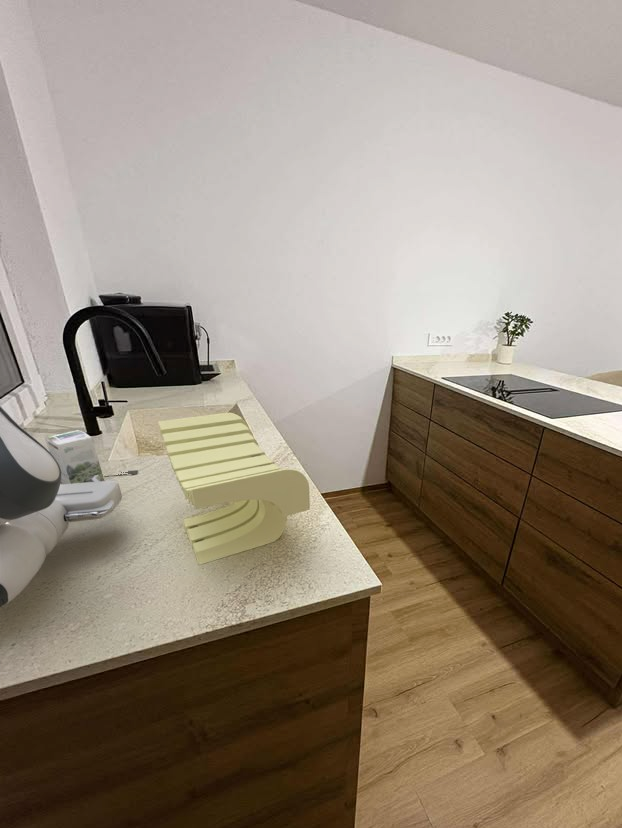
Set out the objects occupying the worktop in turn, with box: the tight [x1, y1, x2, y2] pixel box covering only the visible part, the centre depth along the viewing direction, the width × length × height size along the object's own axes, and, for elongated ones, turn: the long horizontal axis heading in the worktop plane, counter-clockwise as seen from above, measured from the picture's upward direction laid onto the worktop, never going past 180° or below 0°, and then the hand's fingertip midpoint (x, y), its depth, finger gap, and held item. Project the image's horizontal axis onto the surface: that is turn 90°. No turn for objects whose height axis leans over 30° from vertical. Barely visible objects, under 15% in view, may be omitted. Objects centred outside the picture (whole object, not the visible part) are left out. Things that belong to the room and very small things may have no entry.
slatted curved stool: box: [157, 412, 311, 566], centre depth 67 cm, size 30×16×18 cm, turn 32°
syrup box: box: [44, 429, 105, 484], centre depth 75 cm, size 6×6×14 cm
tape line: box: [118, 469, 139, 476], centre depth 89 cm, size 12×2×1 cm, turn 106°
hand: (65, 481), depth 69 cm, fingers open, 8 cm apart
